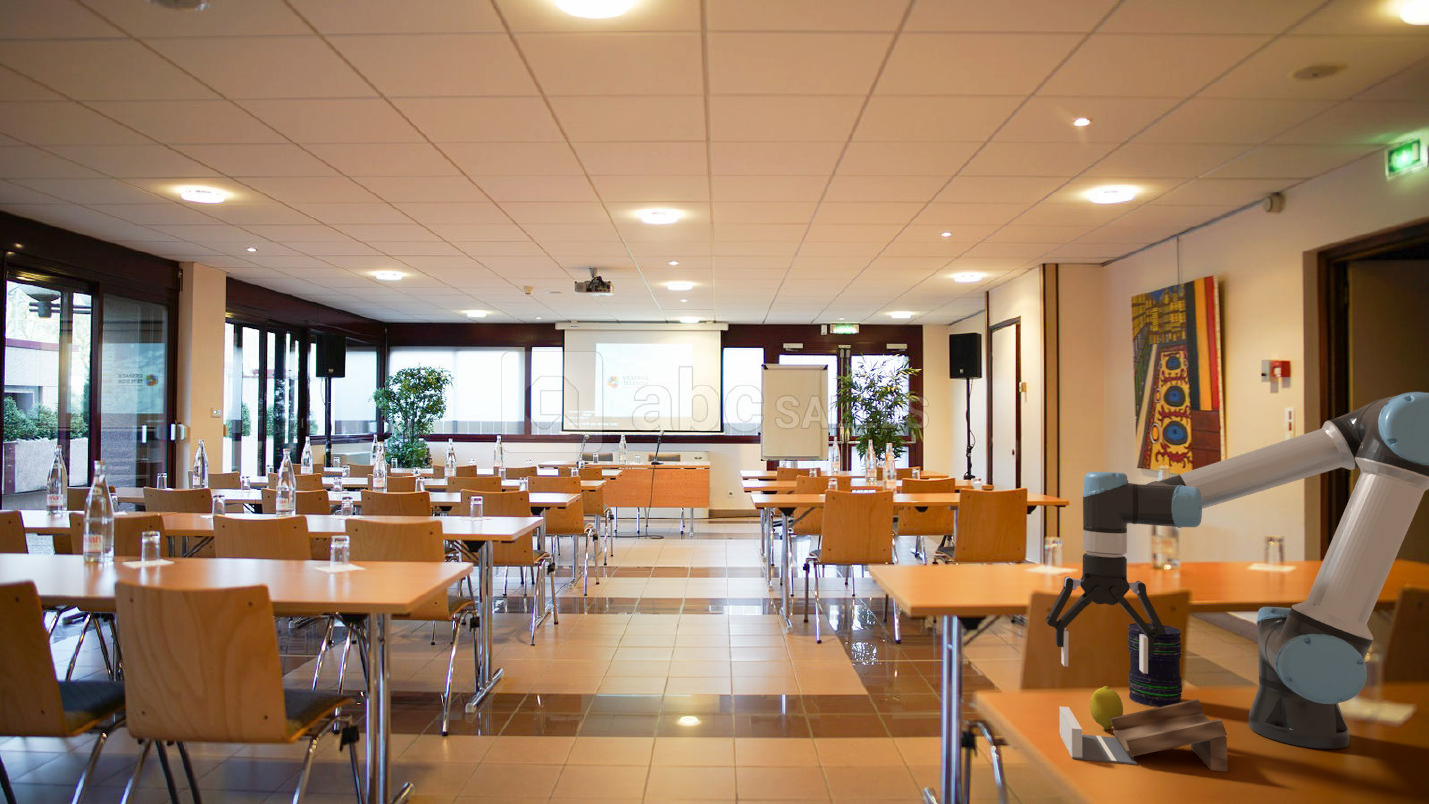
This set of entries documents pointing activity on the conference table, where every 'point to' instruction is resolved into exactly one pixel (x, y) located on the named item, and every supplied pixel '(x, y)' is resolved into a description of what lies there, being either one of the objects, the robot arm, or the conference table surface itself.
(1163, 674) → the dark blue upright cylinder
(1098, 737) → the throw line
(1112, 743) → the lane mat
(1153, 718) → the ramp
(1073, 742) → the rail
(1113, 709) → the lemon
